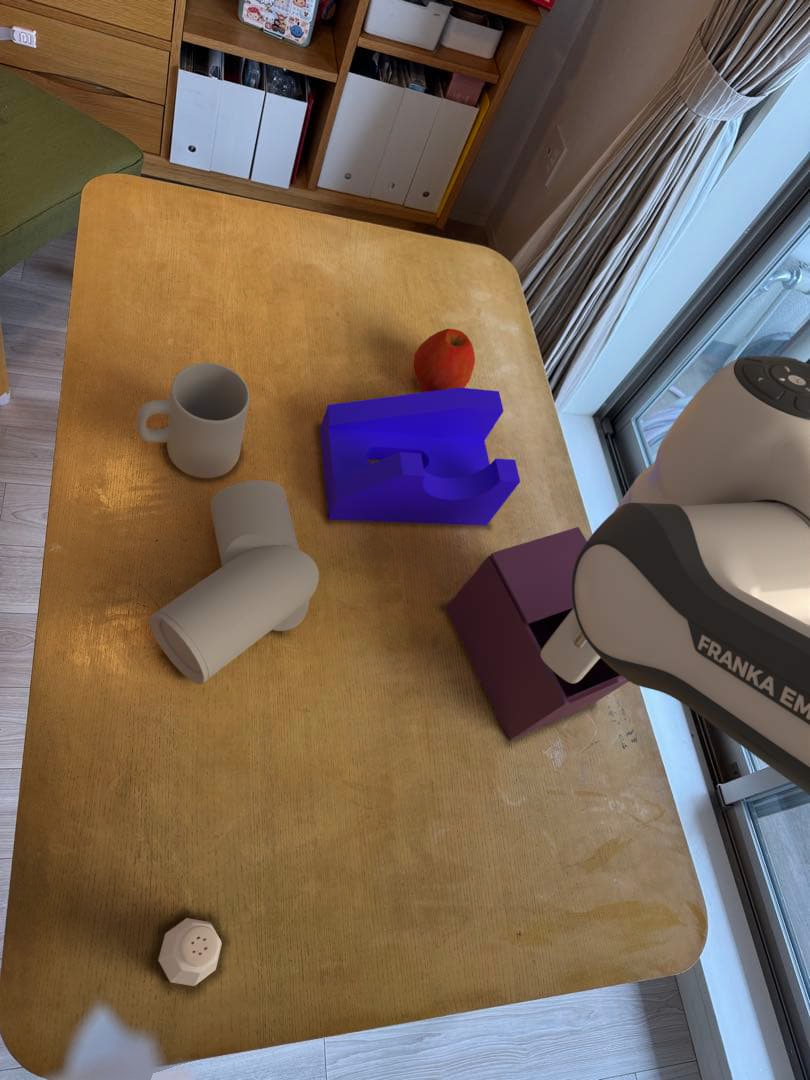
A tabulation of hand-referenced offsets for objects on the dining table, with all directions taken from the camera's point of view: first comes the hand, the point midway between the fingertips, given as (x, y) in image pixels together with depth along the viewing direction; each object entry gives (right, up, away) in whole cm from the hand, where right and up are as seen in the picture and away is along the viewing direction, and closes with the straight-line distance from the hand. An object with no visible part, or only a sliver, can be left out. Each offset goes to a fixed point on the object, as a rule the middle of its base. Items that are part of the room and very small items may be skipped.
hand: (597, 627), depth 68 cm
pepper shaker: (-36, -29, 0) cm, 46 cm away
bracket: (-17, +16, +32) cm, 40 cm away
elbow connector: (-36, +1, +17) cm, 40 cm away
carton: (-4, -6, +24) cm, 25 cm away
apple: (-13, +29, +42) cm, 53 cm away
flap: (+5, -5, +6) cm, 9 cm away
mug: (-43, +18, +25) cm, 53 cm away
